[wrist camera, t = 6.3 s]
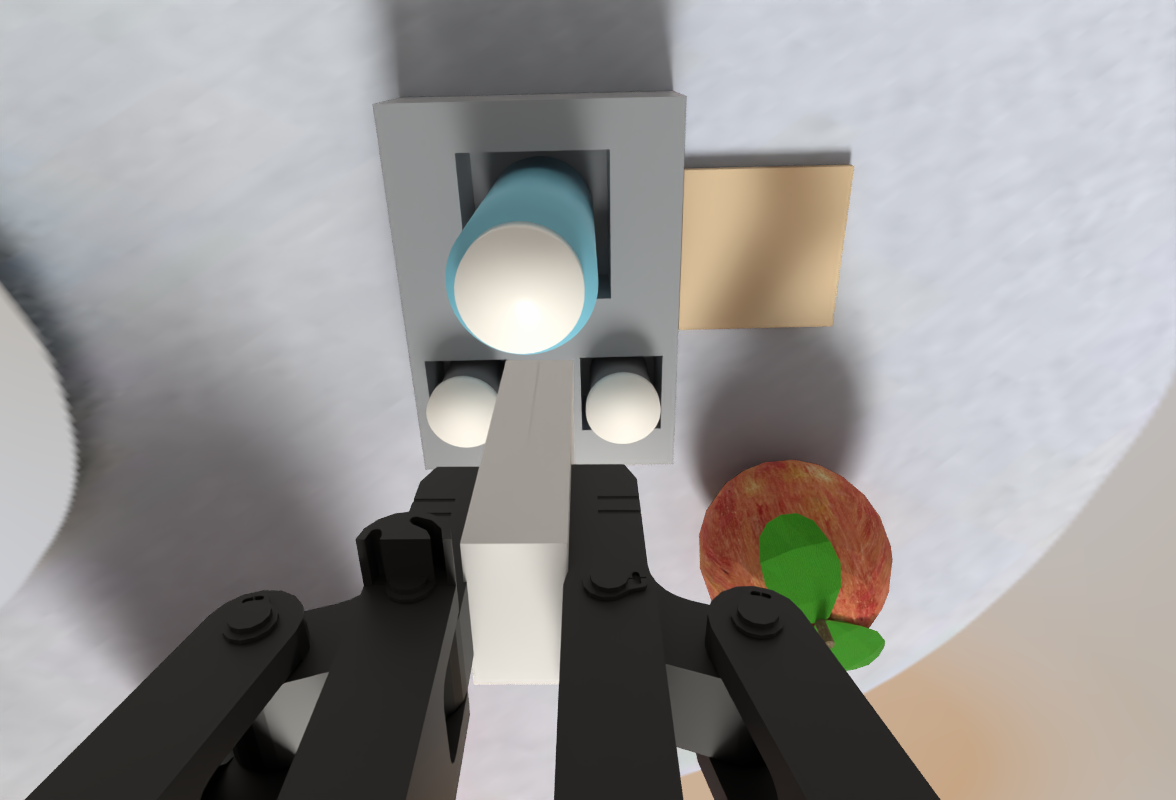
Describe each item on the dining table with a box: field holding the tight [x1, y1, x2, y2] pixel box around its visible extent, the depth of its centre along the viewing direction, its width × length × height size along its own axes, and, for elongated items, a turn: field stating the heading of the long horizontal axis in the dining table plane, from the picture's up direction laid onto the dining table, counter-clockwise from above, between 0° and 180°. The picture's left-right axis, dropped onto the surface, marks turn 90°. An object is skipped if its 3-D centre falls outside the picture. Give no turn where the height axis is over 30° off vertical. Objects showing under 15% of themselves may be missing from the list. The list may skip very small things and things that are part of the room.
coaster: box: [678, 164, 854, 330], centre depth 31 cm, size 7×7×1 cm
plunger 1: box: [426, 360, 504, 448], centre depth 30 cm, size 3×3×4 cm
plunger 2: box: [586, 356, 661, 444], centre depth 30 cm, size 3×3×4 cm
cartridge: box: [445, 156, 598, 355], centre depth 25 cm, size 4×4×12 cm
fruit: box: [699, 460, 892, 671], centre depth 33 cm, size 9×10×10 cm
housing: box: [373, 91, 687, 470], centre depth 30 cm, size 11×15×4 cm
